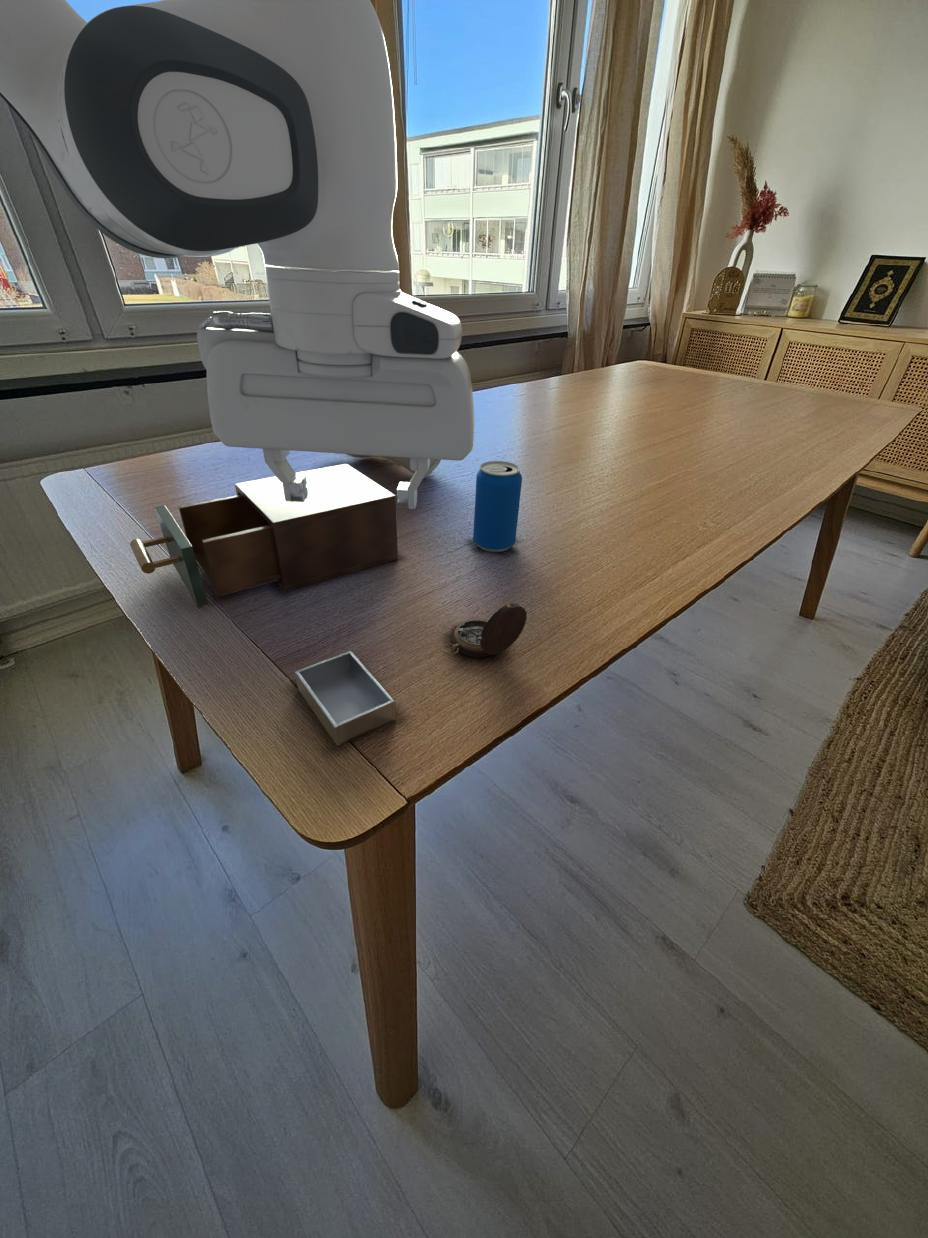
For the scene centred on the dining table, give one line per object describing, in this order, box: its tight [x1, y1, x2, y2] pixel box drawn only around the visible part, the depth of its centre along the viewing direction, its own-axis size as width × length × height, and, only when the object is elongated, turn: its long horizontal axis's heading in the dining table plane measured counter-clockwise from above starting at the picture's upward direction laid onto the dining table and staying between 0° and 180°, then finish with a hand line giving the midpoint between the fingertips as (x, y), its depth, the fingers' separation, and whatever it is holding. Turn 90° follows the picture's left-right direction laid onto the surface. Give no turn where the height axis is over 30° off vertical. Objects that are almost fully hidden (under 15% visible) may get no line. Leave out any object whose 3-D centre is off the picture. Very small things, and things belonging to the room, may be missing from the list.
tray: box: [294, 650, 396, 747], centre depth 52 cm, size 6×9×2 cm, turn 36°
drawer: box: [129, 494, 281, 609], centre depth 68 cm, size 20×13×8 cm
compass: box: [441, 601, 528, 658], centre depth 58 cm, size 8×8×7 cm
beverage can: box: [472, 460, 523, 553], centre depth 78 cm, size 6×6×12 cm
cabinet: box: [234, 463, 399, 593], centre depth 74 cm, size 17×15×10 cm
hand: (352, 502), depth 45 cm, fingers open, 8 cm apart
